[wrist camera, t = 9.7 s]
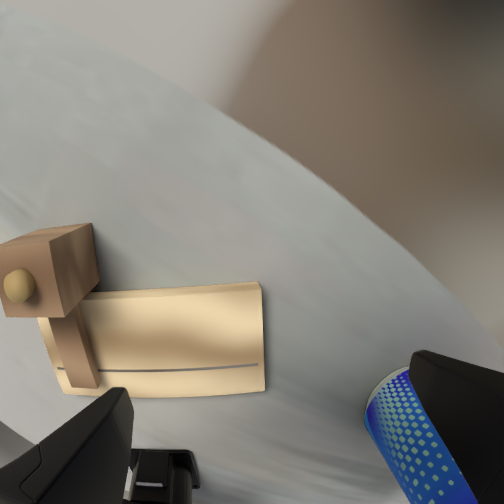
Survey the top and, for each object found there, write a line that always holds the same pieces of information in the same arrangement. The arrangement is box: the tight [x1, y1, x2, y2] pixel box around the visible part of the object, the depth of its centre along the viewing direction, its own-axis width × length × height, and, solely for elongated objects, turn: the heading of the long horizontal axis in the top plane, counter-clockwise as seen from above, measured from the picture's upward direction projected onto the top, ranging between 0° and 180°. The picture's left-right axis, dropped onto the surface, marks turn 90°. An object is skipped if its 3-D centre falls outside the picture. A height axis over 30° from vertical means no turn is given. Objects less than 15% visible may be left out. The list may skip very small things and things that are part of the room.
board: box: [37, 282, 265, 398], centre depth 20 cm, size 8×16×2 cm, turn 92°
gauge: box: [0, 223, 101, 389], centre depth 16 cm, size 11×4×7 cm, turn 3°
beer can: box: [364, 366, 478, 504], centre depth 18 cm, size 8×8×16 cm
